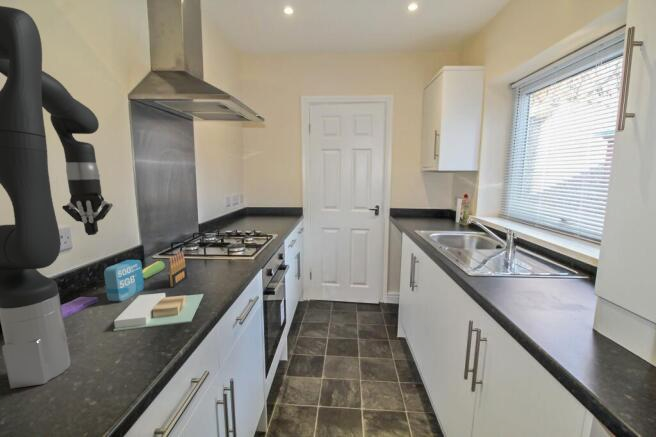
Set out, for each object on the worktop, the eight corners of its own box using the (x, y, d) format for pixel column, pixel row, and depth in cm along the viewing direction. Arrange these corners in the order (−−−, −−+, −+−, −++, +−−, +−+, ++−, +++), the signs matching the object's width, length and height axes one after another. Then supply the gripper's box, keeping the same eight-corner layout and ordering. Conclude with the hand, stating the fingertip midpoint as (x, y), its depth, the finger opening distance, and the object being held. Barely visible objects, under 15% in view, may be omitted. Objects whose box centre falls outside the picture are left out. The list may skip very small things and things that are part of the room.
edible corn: (168, 268, 139) (167, 258, 138) (143, 284, 119) (141, 273, 118) (156, 268, 138) (155, 259, 138) (129, 284, 119) (128, 273, 118)
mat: (190, 322, 87) (190, 320, 87) (113, 331, 83) (113, 329, 83) (203, 294, 106) (203, 293, 106) (141, 301, 102) (141, 300, 102)
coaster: (178, 314, 91) (177, 307, 90) (153, 317, 89) (152, 309, 89) (186, 302, 99) (185, 295, 99) (163, 304, 98) (162, 297, 98)
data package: (119, 303, 101) (115, 269, 99) (107, 302, 102) (102, 269, 100) (145, 289, 113) (141, 258, 111) (134, 289, 113) (130, 258, 112)
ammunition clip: (174, 287, 114) (170, 257, 112) (169, 287, 114) (166, 257, 112) (187, 277, 124) (184, 250, 123) (183, 277, 125) (180, 250, 123)
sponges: (98, 302, 103) (97, 297, 103) (61, 320, 91) (60, 314, 91) (81, 301, 104) (80, 296, 104) (42, 318, 92) (41, 313, 92)
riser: (146, 324, 85) (145, 317, 85) (115, 328, 84) (114, 320, 83) (165, 298, 103) (165, 292, 102) (140, 301, 101) (139, 295, 101)
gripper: (49, 179, 84) (59, 238, 87) (101, 177, 87) (110, 235, 90) (66, 178, 92) (75, 233, 95) (114, 177, 94) (121, 230, 97)
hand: (92, 234), depth 92 cm, fingers closed
